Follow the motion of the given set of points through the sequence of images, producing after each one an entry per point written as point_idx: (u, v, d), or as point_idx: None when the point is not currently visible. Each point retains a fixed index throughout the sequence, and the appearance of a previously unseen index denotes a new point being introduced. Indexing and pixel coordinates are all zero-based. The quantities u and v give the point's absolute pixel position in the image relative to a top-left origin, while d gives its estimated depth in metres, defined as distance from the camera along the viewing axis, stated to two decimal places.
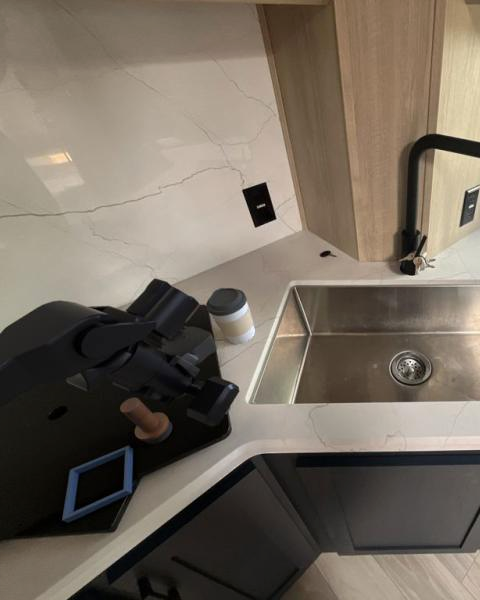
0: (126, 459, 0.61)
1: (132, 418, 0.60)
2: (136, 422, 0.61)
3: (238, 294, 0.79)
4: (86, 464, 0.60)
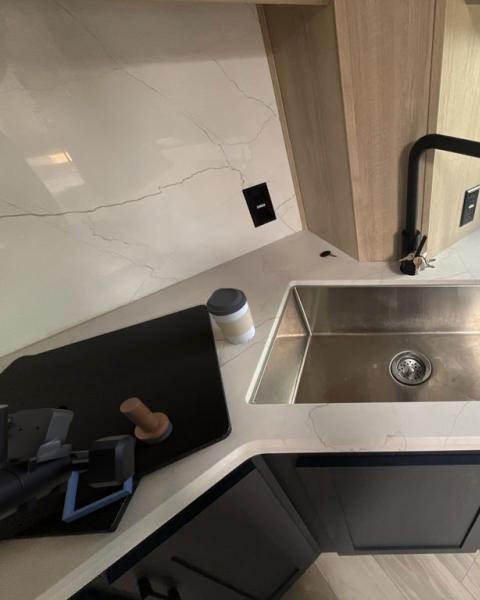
0: None
1: (132, 418, 0.60)
2: (136, 422, 0.61)
3: (238, 294, 0.79)
4: None
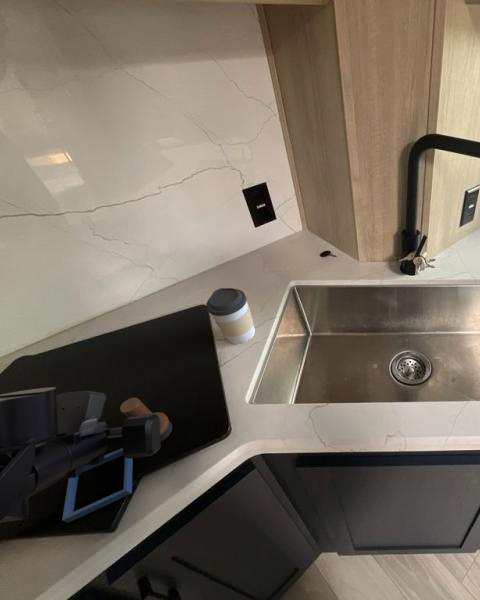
0: (126, 459, 0.61)
1: None
2: None
3: (238, 294, 0.79)
4: None
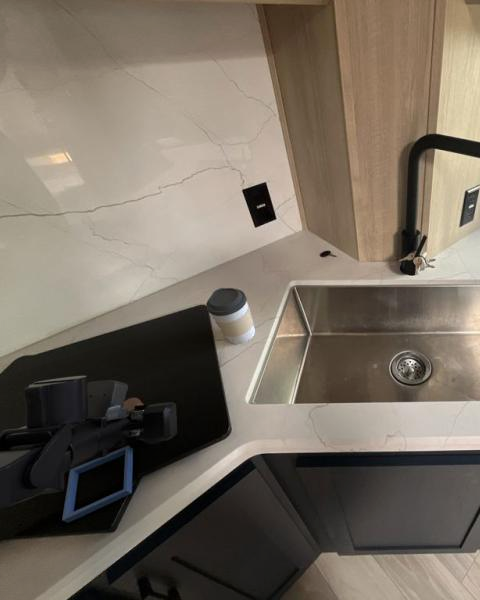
0: (126, 459, 0.61)
1: None
2: None
3: (238, 294, 0.79)
4: (86, 464, 0.60)
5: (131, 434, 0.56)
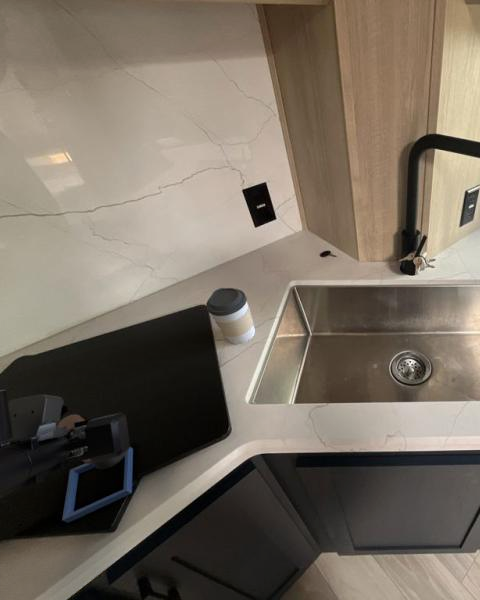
0: (126, 459, 0.61)
1: None
2: None
3: (238, 294, 0.79)
4: (86, 464, 0.60)
5: (72, 455, 0.48)
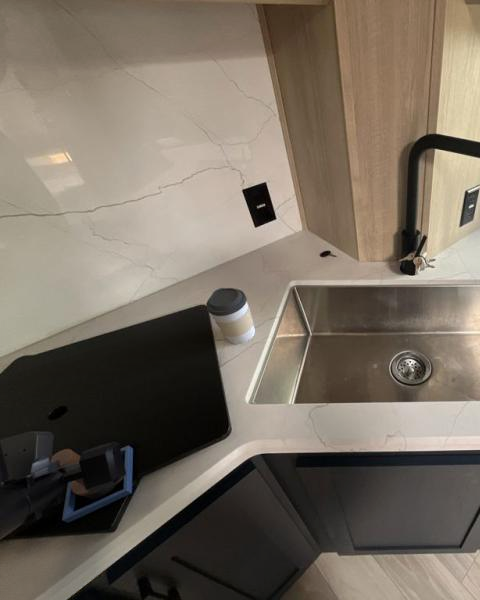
0: (126, 459, 0.61)
1: (66, 473, 0.52)
2: None
3: (238, 294, 0.79)
4: None
5: None
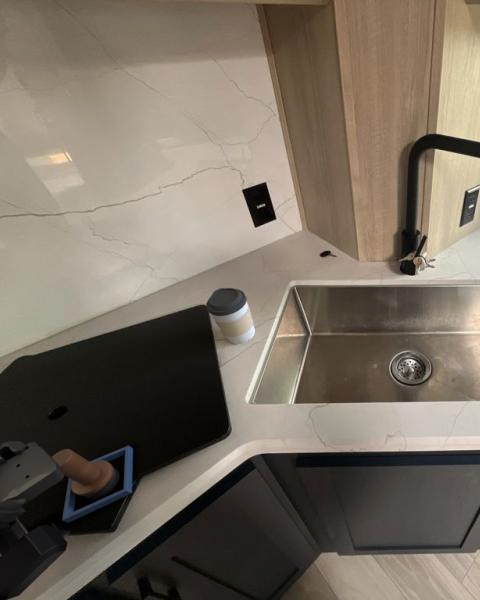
0: (126, 459, 0.61)
1: (66, 473, 0.52)
2: (72, 476, 0.53)
3: (238, 294, 0.79)
4: None
5: None
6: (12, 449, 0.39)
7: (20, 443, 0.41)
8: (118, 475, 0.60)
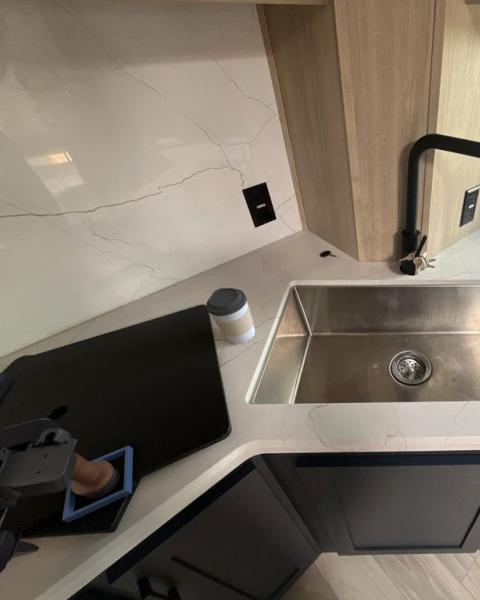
0: (126, 459, 0.61)
1: None
2: (72, 476, 0.53)
3: (238, 294, 0.79)
4: None
5: None
6: (55, 438, 0.41)
7: (67, 435, 0.43)
8: (118, 475, 0.60)
